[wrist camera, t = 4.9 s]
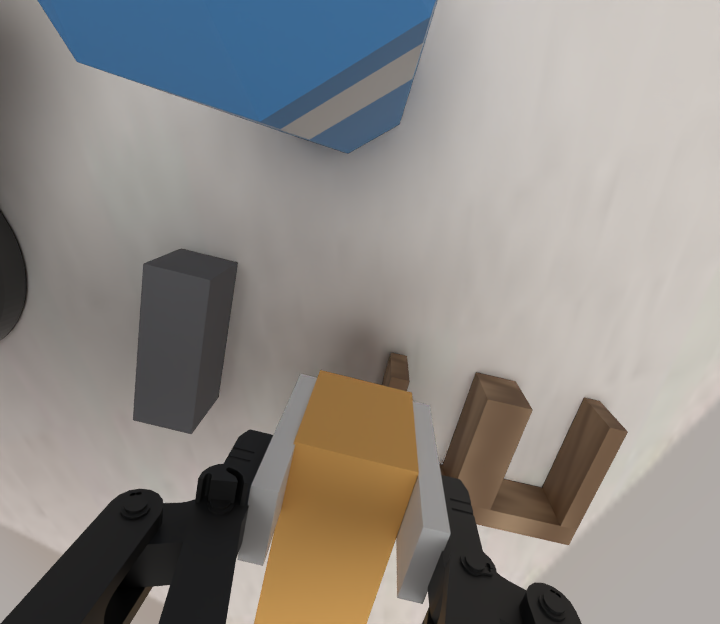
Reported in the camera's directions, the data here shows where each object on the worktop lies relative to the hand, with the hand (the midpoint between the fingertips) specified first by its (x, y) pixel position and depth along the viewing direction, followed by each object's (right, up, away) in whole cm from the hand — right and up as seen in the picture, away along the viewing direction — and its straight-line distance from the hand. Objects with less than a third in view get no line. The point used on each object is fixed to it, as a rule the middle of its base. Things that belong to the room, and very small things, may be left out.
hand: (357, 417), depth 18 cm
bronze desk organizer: (+9, -5, +15) cm, 18 cm away
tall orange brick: (-1, -4, +2) cm, 4 cm away
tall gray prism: (-12, +3, +13) cm, 18 cm away
